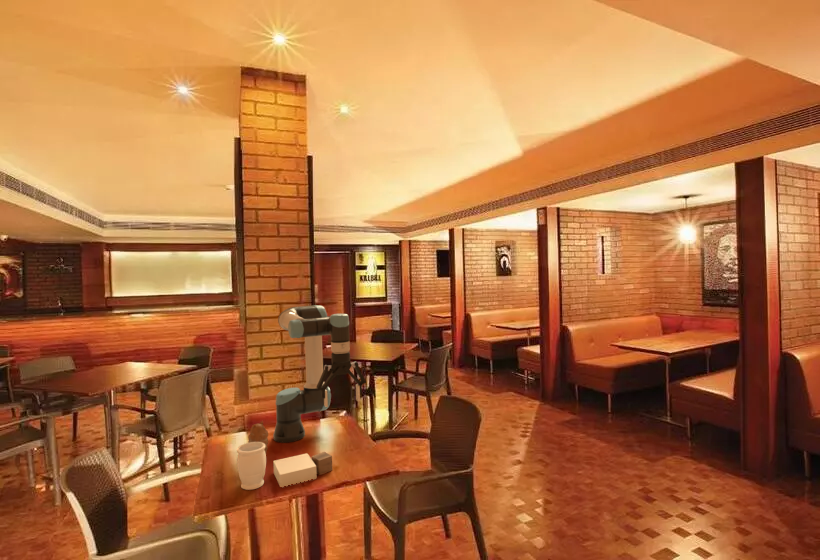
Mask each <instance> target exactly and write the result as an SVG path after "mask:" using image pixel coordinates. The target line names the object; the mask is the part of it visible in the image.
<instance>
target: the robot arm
mask: <svg viewBox="0 0 820 560" xmlns="http://www.w3.org/2000/svg"><path fill="white" fill-rule="evenodd" d="M349 317H350V316H349V315H348V314H347V313H334V314H331V315H328V313H327V310H326V308H325V306H323V305H316V304H315V305H314V304H313V305H302V306H291V307H288V308H285V309H284V310H282V311H281V313H279V316H278V319H277V323H278V326H279V327H280V328H282V329H283V330H284V331H288V336H289V337H290V338H291V339H300V338H304V350H305V351H304V353H305V354H304V356H305V378H306V379H305V381H306V382H305V384H304V385H303V389H302V390H301V389H300V388H299V387H289V388H285V389H283V390H281V391H279V392H278V393H277V394H276V395H275V408H276V411H275V412H276V417H275V418H276V424H275V427H274V431H273V436H272V437H273V440H274V442H276V443H293V442H297V441H300V440H302V439H303V438H304V437H305V436H306V431H305V427H304V425H303V422H302V418H301V417H302V415H305V414H311V413H317V412H322V411H326V410H327V409H328V408H329V407H330V405H331V399H332V393H331V389H330V387H329V385H330V384H331V383H332V381H333V379H334V378H336V377H337V376H341V375H343V376H344V375H349V376H350V377H351V378H352V379H353V380H354V382H355V383H357V384H355V396H356V397H355V398H356V400H355V401H357V402H361V393H362V392H363V385H364V384H366V383H367V380H366V378H365V377H364V375H363V373H362V370H361V369H360V368H359V363H358V362H357V361H353V362H351V352H350V350H351V349H350V347H351V343H350V340H351V339H350V318H349ZM323 336H330V348H331V349H330V351H331V364H330V365H327V364H325V365H324V358H323V356H324V355H323V354H324V353H323ZM352 367H353V368H354V370H355V372H356V374H357V375H358V377H357V376H356V375H355V374H354V373H353V372H352V371H351V370H350V369H351V368H352ZM330 369H331V370H332V371H331V372H330ZM328 372H330V374H329V376H328V377H327V375H328ZM326 377H327V378H326ZM325 379H326V380H325ZM359 379H360V380H359Z"/></svg>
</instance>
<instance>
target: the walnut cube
mask: <svg viewBox="0 0 820 560" xmlns="http://www.w3.org/2000/svg"><path fill="white" fill-rule="evenodd" d="M311 459H312V461H313V462H314V464H315V465H316V473H317V475H319V476H321V475H325V474H326V473H328V472H331V471H333V455H331V454H329V453H327V452H325V451H322V452H320V453H317V454H314V455H311Z"/></svg>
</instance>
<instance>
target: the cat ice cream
mask: <svg viewBox="0 0 820 560" xmlns="http://www.w3.org/2000/svg"><path fill="white" fill-rule="evenodd" d="M265 427H266V426H264V420H262V421H260V422H259V423H255V424H252V425H251V427H250V431H249V435H248V441H247V443H250V442H263V443H265V445H266V447H265V449H264V450H265V454H266V455H267V450H268V443H269V438H268V437H269V431H268V430H267V429H266V428H265Z"/></svg>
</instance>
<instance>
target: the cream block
mask: <svg viewBox="0 0 820 560" xmlns="http://www.w3.org/2000/svg"><path fill="white" fill-rule="evenodd" d="M273 474H274V477H275V478H276V480H277V483H278V485H279V487H282V488H285V487H284V486H286V487H289V486H288V485H290V486H292V485H291V484H293V485H297V484H301V483H305V482H308V480H309V481H312V480H311V479H313V480H316V479H317V478H318V477H317V475H318V474H317V473H316V465H315V464H314V462H313V461H312V457H311V456H310V455H309V454H308V453H307V452H306V453H302V454H297V455H294V456H289V457H285V458H280V459H276V460H273ZM304 481H305V482H304ZM300 482H301V483H300ZM296 483H297V484H296Z"/></svg>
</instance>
